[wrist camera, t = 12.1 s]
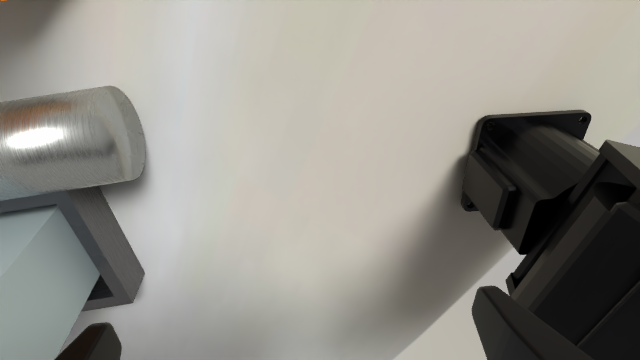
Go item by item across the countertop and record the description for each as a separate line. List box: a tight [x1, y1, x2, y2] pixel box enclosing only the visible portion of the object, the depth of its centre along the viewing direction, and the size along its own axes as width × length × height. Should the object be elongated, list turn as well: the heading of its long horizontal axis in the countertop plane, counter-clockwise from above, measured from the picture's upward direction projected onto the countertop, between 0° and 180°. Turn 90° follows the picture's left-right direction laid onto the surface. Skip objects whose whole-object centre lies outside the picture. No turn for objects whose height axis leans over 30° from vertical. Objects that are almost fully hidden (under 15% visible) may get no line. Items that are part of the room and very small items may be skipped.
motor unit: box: [0, 86, 146, 311], centre depth 20 cm, size 13×13×5 cm
